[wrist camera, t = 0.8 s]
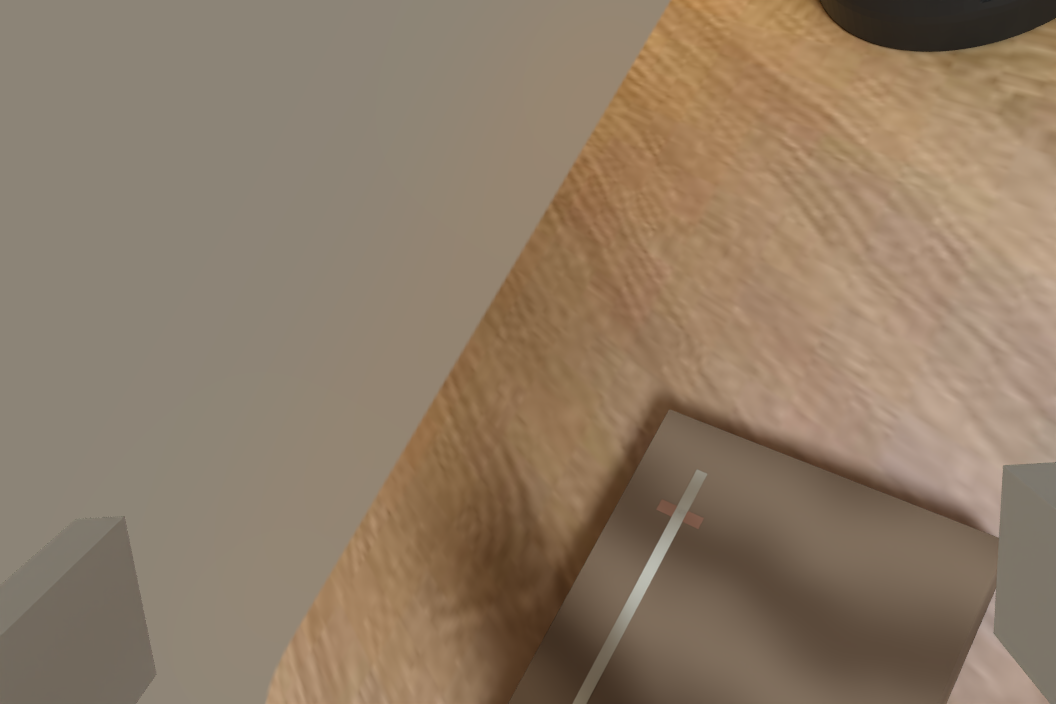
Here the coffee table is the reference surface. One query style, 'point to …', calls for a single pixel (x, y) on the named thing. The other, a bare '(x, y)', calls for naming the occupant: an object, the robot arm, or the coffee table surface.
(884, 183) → the coffee table surface
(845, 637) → the grey flat plate
